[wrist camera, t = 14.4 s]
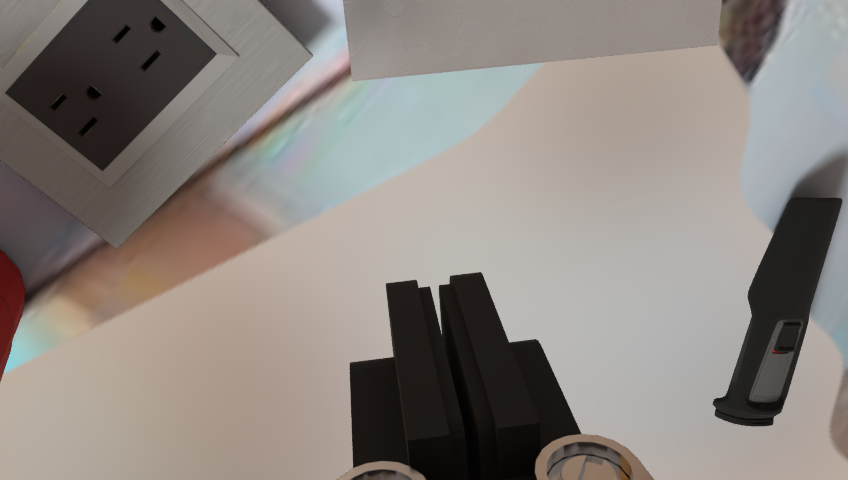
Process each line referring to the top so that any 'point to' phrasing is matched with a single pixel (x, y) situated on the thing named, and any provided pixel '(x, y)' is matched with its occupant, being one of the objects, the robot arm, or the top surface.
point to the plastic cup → (9, 306)
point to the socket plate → (515, 32)
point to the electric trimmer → (779, 312)
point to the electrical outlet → (131, 96)
